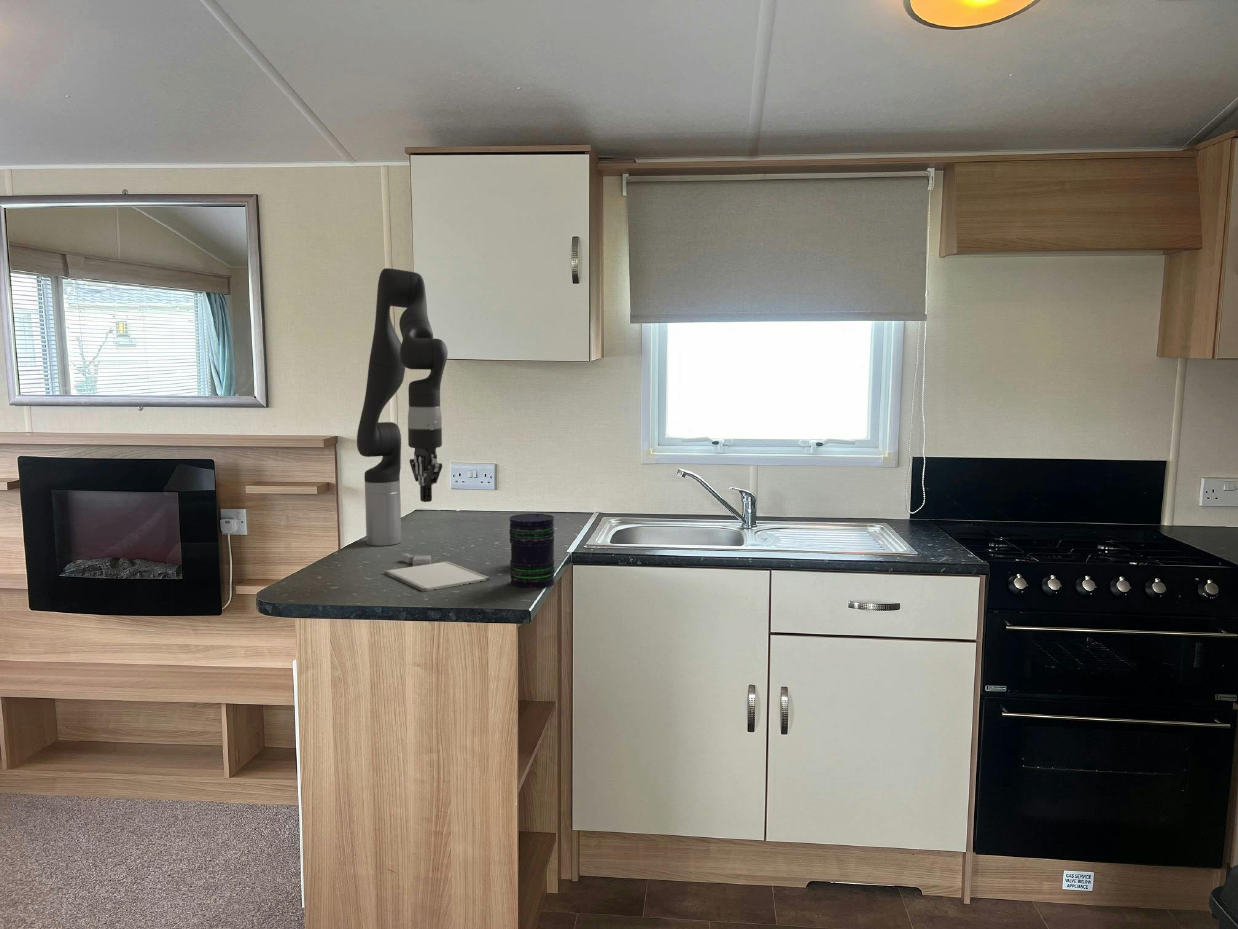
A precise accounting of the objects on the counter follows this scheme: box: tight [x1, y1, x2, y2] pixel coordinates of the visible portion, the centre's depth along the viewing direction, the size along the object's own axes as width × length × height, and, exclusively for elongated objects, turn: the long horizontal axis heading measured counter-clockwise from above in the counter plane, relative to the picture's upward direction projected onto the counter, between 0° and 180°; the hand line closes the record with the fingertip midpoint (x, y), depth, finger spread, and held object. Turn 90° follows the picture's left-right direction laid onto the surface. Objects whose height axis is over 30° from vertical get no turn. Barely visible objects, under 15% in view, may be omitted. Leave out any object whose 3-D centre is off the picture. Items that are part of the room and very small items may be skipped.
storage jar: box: [508, 513, 556, 590], centre depth 184 cm, size 10×10×15 cm
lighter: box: [401, 553, 432, 567], centre depth 205 cm, size 7×2×8 cm
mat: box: [384, 560, 490, 592], centre depth 191 cm, size 21×16×1 cm
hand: (426, 501), depth 192 cm, fingers closed
